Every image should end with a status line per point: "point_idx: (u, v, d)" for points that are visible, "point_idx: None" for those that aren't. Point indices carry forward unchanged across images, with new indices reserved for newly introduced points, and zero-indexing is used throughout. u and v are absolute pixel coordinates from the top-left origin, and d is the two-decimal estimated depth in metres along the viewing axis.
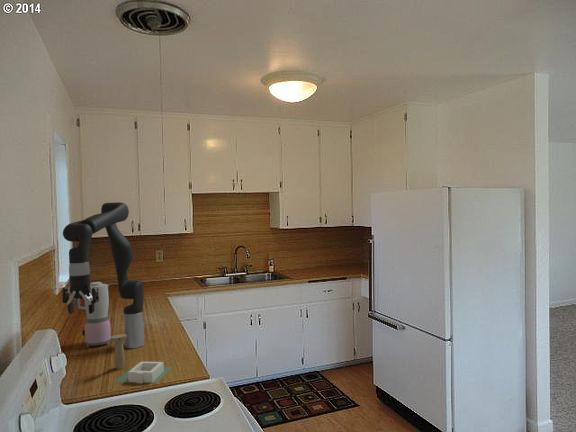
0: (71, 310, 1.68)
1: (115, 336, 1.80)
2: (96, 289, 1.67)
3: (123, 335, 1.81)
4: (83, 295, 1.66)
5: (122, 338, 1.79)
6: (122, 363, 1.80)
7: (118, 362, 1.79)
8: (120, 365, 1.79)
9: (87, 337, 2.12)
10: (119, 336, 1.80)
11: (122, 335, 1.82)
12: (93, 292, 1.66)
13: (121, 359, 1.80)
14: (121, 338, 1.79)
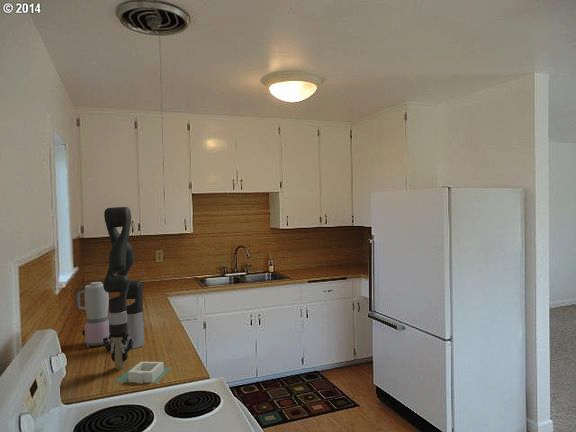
0: (114, 358, 1.81)
1: None
2: (133, 339, 1.80)
3: None
4: (120, 343, 1.79)
5: (122, 338, 1.79)
6: (122, 363, 1.80)
7: (118, 362, 1.79)
8: (120, 365, 1.79)
9: (87, 337, 2.12)
10: None
11: None
12: (130, 342, 1.79)
13: (121, 359, 1.80)
14: (121, 338, 1.79)
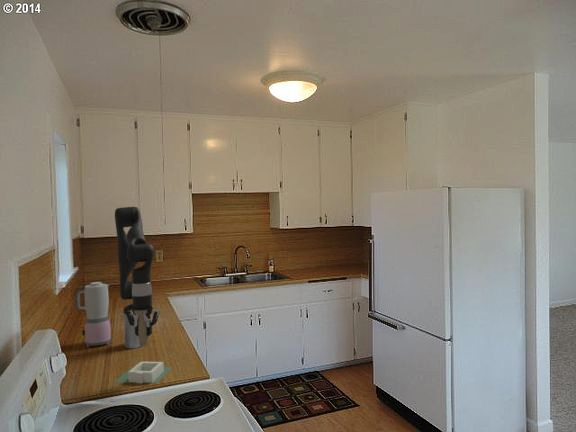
0: None
1: None
2: (158, 313, 1.69)
3: None
4: (145, 316, 1.68)
5: (146, 311, 1.68)
6: (146, 338, 1.69)
7: (142, 337, 1.68)
8: (144, 340, 1.68)
9: (87, 337, 2.12)
10: None
11: None
12: (155, 315, 1.68)
13: (145, 333, 1.68)
14: (145, 311, 1.68)
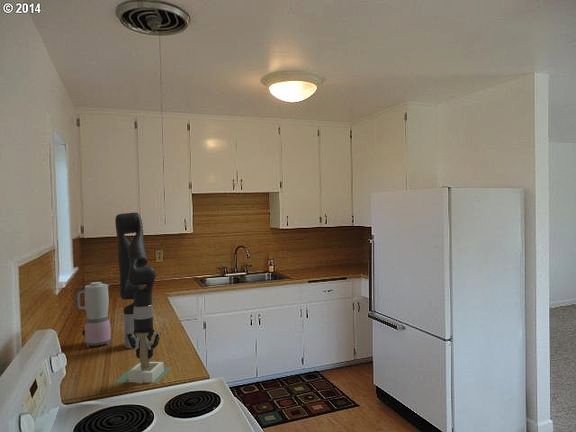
0: (139, 355, 1.70)
1: None
2: (159, 335, 1.69)
3: None
4: (146, 339, 1.68)
5: (148, 333, 1.68)
6: (148, 360, 1.69)
7: (143, 359, 1.68)
8: (145, 362, 1.69)
9: (87, 337, 2.12)
10: None
11: None
12: (156, 338, 1.68)
13: (147, 356, 1.69)
14: (147, 334, 1.68)
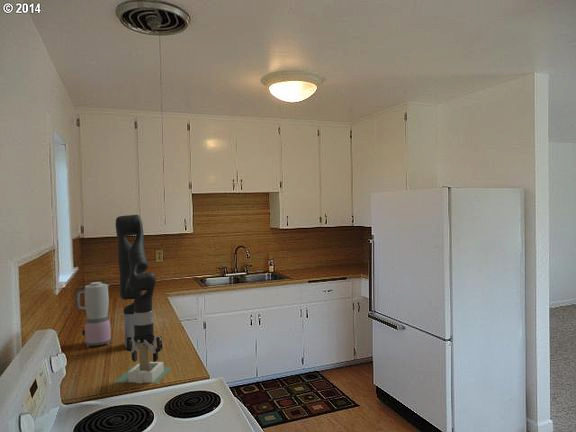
0: (135, 358, 1.70)
1: None
2: (160, 337, 1.69)
3: None
4: (148, 344, 1.68)
5: None
6: (148, 370, 1.69)
7: (144, 369, 1.68)
8: None
9: (87, 337, 2.12)
10: None
11: None
12: (158, 341, 1.68)
13: (147, 366, 1.69)
14: (146, 343, 1.68)
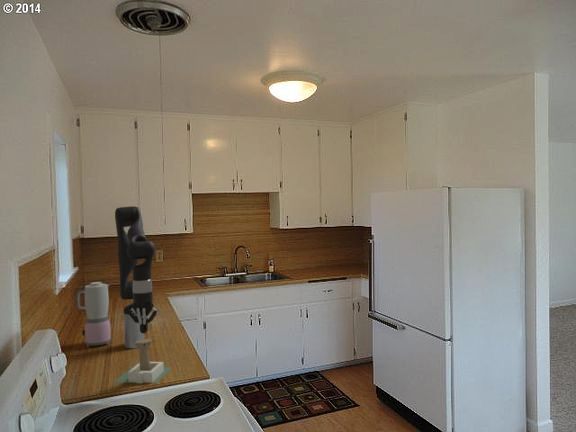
0: None
1: (140, 341, 1.69)
2: (157, 312, 1.69)
3: (148, 340, 1.70)
4: (144, 313, 1.68)
5: (147, 343, 1.68)
6: (148, 370, 1.69)
7: (144, 369, 1.68)
8: None
9: (87, 337, 2.12)
10: (144, 341, 1.69)
11: (147, 340, 1.71)
12: (153, 314, 1.68)
13: (147, 365, 1.69)
14: (146, 343, 1.68)
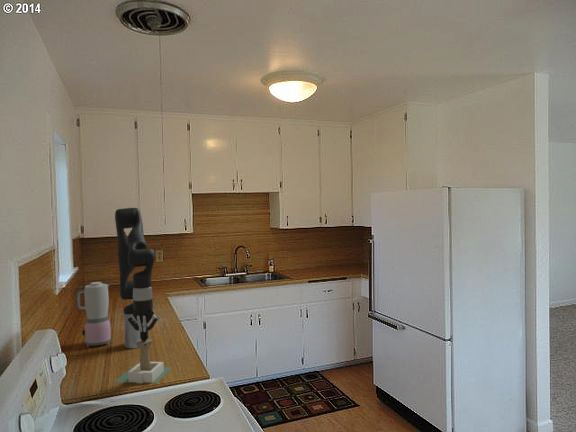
0: None
1: (141, 341, 1.69)
2: (157, 320, 1.69)
3: (149, 340, 1.71)
4: (144, 321, 1.68)
5: (148, 343, 1.68)
6: (148, 370, 1.69)
7: (144, 369, 1.68)
8: None
9: (87, 337, 2.12)
10: (145, 341, 1.69)
11: (148, 340, 1.71)
12: (154, 322, 1.68)
13: (147, 366, 1.69)
14: (147, 343, 1.68)
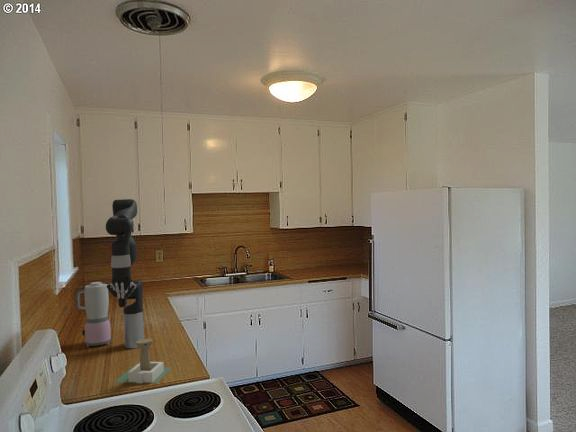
0: None
1: (141, 341, 1.70)
2: (135, 287, 1.74)
3: (149, 340, 1.71)
4: (122, 287, 1.73)
5: (148, 343, 1.68)
6: (148, 370, 1.69)
7: (144, 369, 1.68)
8: None
9: (87, 337, 2.12)
10: (145, 341, 1.69)
11: (148, 340, 1.71)
12: (131, 288, 1.73)
13: (147, 365, 1.69)
14: (147, 343, 1.68)
